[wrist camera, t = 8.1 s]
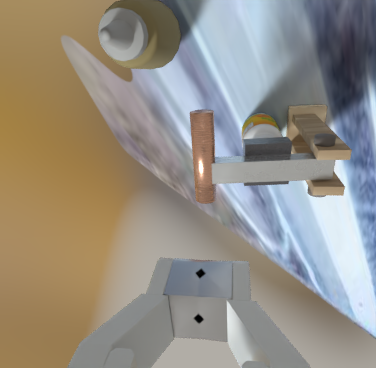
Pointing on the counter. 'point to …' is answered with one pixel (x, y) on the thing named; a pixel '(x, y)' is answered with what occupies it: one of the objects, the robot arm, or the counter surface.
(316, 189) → the press stand
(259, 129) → the supplement bottle
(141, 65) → the squeeze bottle
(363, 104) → the counter surface
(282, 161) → the lever
